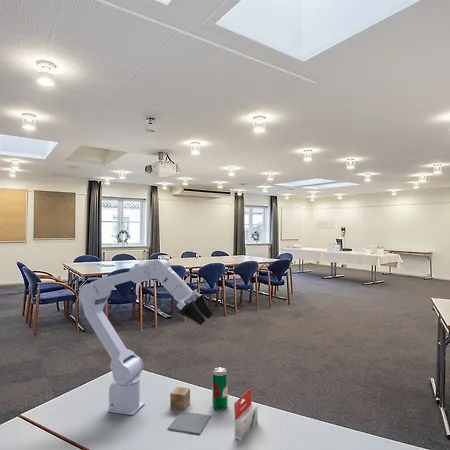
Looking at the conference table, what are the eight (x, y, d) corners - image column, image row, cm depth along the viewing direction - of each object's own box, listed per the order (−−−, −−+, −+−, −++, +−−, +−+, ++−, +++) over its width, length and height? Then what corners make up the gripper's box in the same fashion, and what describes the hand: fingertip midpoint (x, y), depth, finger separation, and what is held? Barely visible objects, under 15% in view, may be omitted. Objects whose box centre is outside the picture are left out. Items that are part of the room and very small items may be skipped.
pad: (167, 429, 99) (167, 428, 99) (181, 412, 108) (181, 411, 108) (199, 434, 96) (199, 433, 96) (210, 416, 106) (210, 415, 106)
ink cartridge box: (258, 422, 102) (257, 389, 103) (241, 441, 93) (241, 405, 93) (250, 420, 104) (250, 387, 104) (233, 439, 94) (233, 403, 94)
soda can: (226, 410, 109) (225, 373, 109) (210, 409, 110) (210, 372, 110) (228, 403, 114) (228, 367, 114) (214, 401, 115) (214, 366, 115)
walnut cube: (170, 408, 111) (170, 393, 111) (176, 401, 116) (176, 386, 116) (184, 410, 110) (184, 395, 110) (190, 403, 114) (190, 388, 115)
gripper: (176, 283, 101) (208, 316, 98) (194, 276, 115) (221, 305, 112) (162, 299, 102) (192, 332, 99) (180, 291, 116) (208, 320, 113)
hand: (207, 319), depth 105 cm, fingers open, 7 cm apart
